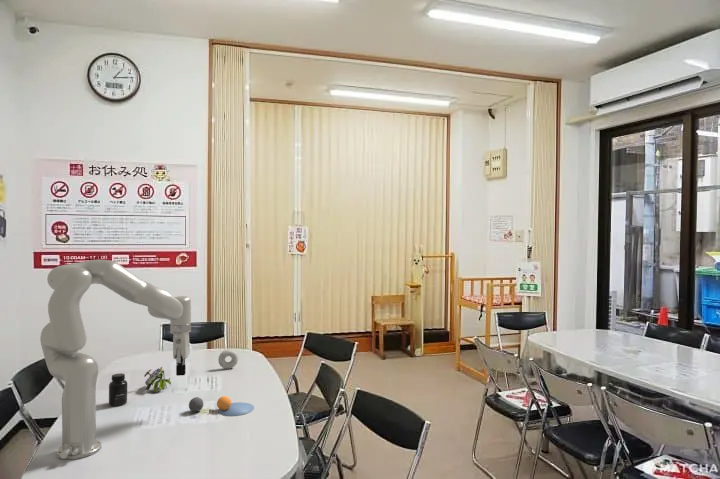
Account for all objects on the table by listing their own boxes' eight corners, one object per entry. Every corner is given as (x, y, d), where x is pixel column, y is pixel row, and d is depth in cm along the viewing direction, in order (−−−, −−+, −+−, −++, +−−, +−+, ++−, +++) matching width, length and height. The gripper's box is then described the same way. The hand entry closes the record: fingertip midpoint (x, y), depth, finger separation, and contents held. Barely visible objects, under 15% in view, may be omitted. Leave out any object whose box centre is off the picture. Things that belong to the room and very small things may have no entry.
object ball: (214, 410, 191) (227, 414, 192) (219, 397, 191) (232, 401, 192) (215, 405, 196) (228, 409, 197) (220, 392, 196) (233, 396, 197)
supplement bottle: (119, 407, 196) (119, 378, 196) (105, 406, 198) (104, 376, 197) (131, 401, 203) (130, 373, 203) (116, 400, 204) (116, 371, 204)
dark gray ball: (186, 403, 189) (191, 416, 189) (199, 397, 190) (205, 409, 191) (187, 399, 194) (192, 411, 195) (200, 393, 196) (205, 405, 196)
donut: (218, 370, 247) (218, 351, 247) (218, 368, 250) (217, 349, 250) (238, 368, 251) (238, 349, 251) (237, 366, 254) (237, 347, 254)
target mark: (253, 414, 190) (253, 414, 190) (216, 417, 187) (216, 416, 187) (254, 401, 203) (254, 401, 203) (219, 404, 201) (219, 403, 201)
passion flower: (148, 401, 219) (144, 376, 224) (174, 393, 223) (169, 369, 228) (145, 394, 210) (141, 368, 215) (172, 386, 214) (167, 360, 219)
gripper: (187, 331, 183) (188, 380, 184) (193, 324, 198) (193, 368, 199) (166, 332, 182) (167, 381, 182) (174, 324, 197) (174, 369, 197)
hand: (180, 374), depth 191 cm, fingers closed
